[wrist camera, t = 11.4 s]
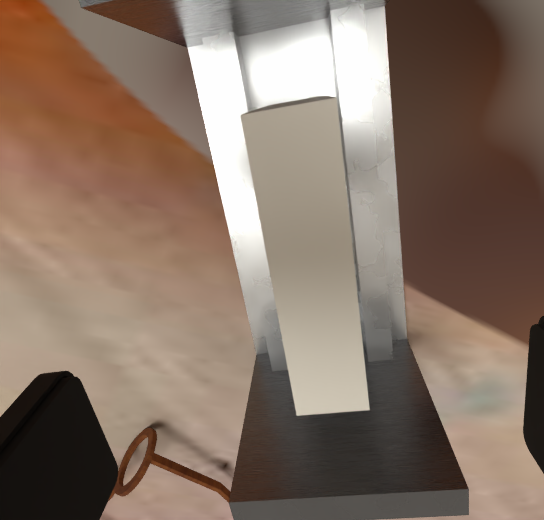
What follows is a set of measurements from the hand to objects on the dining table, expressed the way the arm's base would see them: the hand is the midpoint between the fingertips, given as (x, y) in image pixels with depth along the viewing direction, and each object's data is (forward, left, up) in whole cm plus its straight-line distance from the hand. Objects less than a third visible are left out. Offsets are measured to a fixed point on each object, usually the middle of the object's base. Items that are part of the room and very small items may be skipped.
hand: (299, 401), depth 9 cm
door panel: (0, 0, -17) cm, 17 cm away
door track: (0, 0, -18) cm, 18 cm away
